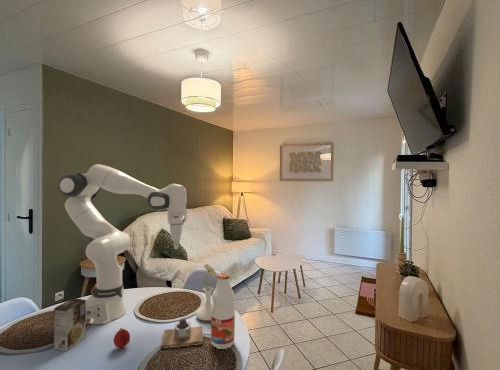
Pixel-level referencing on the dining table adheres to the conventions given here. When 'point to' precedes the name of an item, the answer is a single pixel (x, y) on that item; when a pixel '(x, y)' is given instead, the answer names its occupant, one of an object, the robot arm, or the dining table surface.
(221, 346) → the fruit juice
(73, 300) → the coffee box
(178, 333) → the steel collar
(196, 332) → the post board
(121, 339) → the onion
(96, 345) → the dining table surface
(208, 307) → the flower in vase
